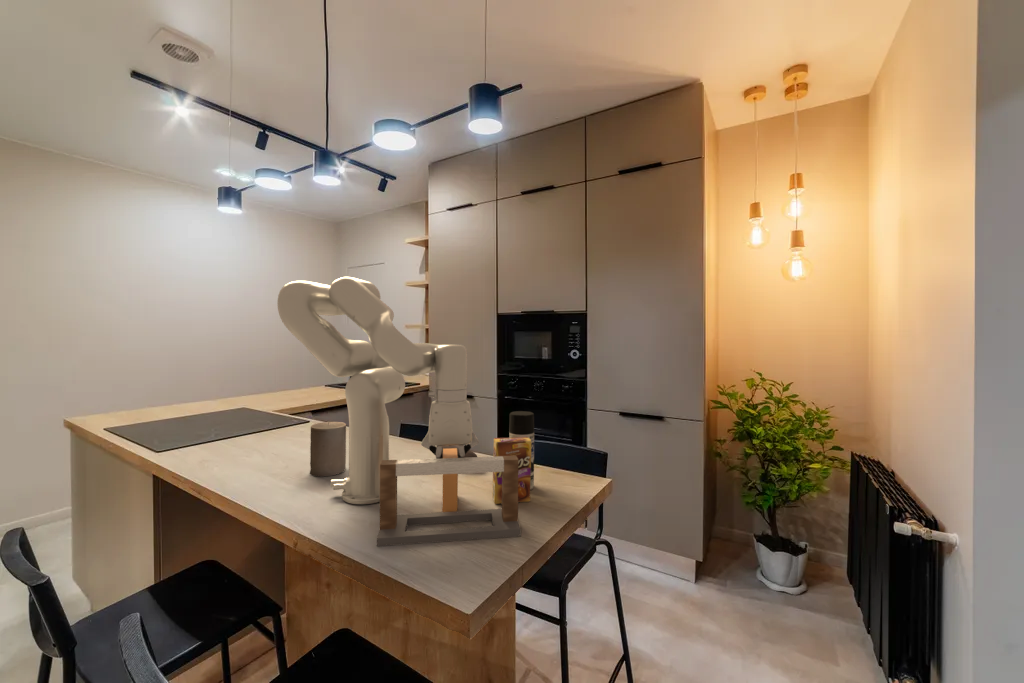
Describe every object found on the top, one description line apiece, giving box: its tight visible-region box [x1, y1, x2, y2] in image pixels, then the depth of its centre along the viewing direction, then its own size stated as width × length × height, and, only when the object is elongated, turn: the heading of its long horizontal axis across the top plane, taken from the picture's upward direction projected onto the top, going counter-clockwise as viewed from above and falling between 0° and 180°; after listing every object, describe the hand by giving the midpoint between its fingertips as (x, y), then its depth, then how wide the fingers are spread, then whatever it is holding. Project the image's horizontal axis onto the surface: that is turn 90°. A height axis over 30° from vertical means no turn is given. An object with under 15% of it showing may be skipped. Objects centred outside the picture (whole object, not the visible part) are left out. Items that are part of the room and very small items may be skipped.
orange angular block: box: [441, 448, 459, 512], centre depth 97 cm, size 10×3×12 cm, turn 9°
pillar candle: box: [309, 419, 347, 478], centre depth 119 cm, size 10×10×15 cm
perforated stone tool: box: [435, 445, 478, 459], centre depth 124 cm, size 15×5×7 cm, turn 59°
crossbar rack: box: [376, 455, 522, 547], centre depth 85 cm, size 28×10×14 cm, turn 99°
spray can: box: [508, 410, 535, 491], centre depth 108 cm, size 7×7×20 cm
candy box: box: [491, 437, 531, 505], centre depth 100 cm, size 9×4×15 cm, turn 103°
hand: (450, 471), depth 97 cm, fingers open, 3 cm apart
